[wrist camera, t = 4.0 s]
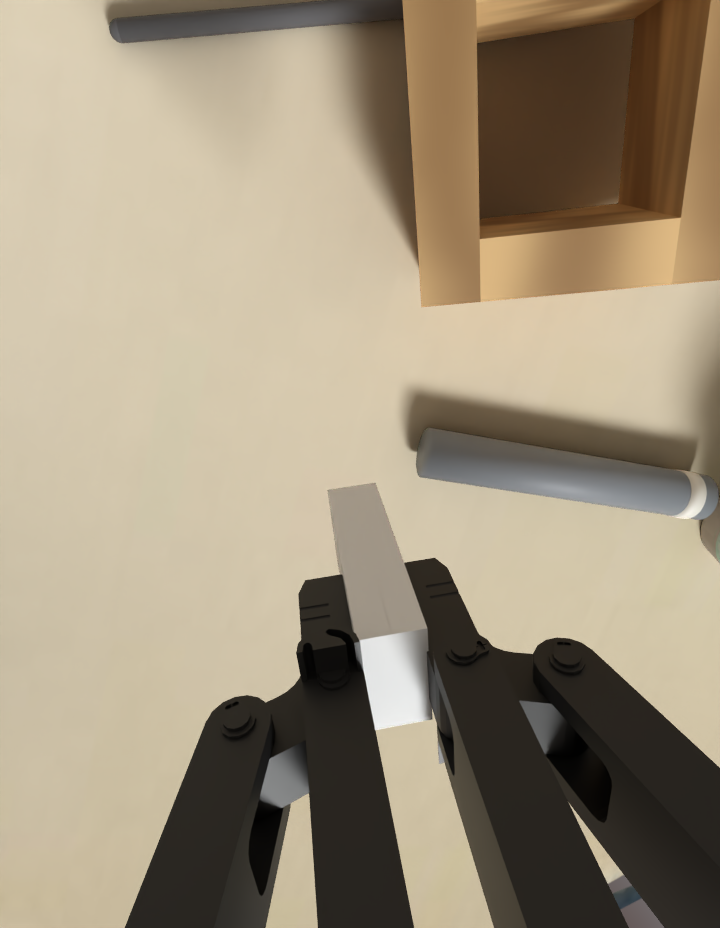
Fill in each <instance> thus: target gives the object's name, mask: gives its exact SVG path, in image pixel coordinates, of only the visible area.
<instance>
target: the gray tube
mask: <svg viewBox="0 0 720 928" xmlns="http://www.w3.org/2000/svg"><path fill="white" fill-rule="evenodd" d="M416 468H417V473H418V475H419V477H422V478H429V479H435V480H442V481H448V482H455V483H461V484H468V485H474V486H481V487H487V488H494V489H500V490H507V491H513V492H520V493H526V494H533V495H539V496H546V497H553V498H559V499H566V500H572V501H579V502H585V503H592V504H598V505H605V506H611V507H618V508H624V509H631V510H637V511H644V512H650V513H657V514H663V515H667V516H670V517H676V518H683V519H696V520H702V519H705V518H707V517H708V516H710V515H711V514H712V513H713V511H714V510H715V508H716V506H717V503H718V498H719V492H718V487H717V485H716V483H715V481H714V480H713V479H712V478H711V477H709V476H707V475H701V474H697V473H695V472H690V471H684V470H678V469H675V470H672V469H667V468H661V467H655V466H649V465H643V464H638V463H632V462H626V461H620V460H614V459H608V458H603V457H597V456H591V455H585V454H579V453H574V452H568V451H562V450H556V449H550V448H545V447H539V446H533V445H527V444H521V443H516V442H510V441H504V440H498V439H492V438H486V437H481V436H475V435H469V434H463V433H457V432H452V431H446V430H440V429H434V428H426V429H425V431H424V432H423V434H422V436H421V439H420V442H419V446H418V450H417V458H416Z"/></svg>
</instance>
